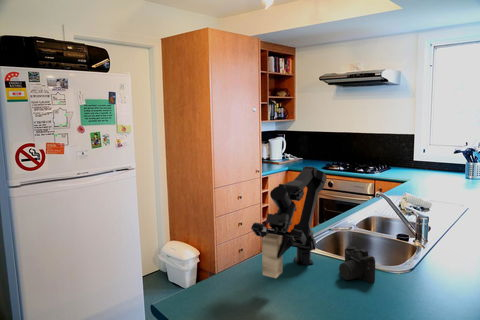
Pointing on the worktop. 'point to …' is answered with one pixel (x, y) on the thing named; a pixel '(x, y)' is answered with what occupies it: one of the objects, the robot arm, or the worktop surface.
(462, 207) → the worktop surface
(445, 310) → the worktop surface
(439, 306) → the worktop surface
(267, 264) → the maple block
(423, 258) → the worktop surface
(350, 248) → the camera
